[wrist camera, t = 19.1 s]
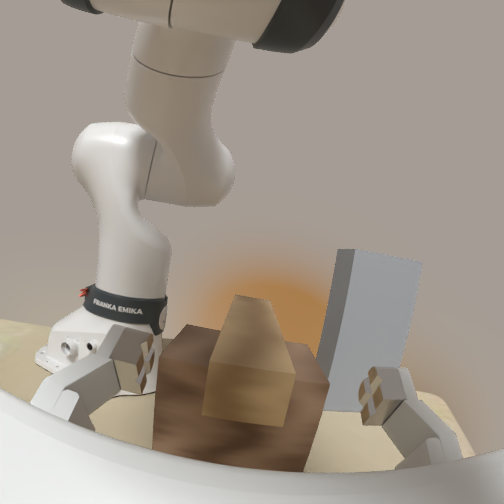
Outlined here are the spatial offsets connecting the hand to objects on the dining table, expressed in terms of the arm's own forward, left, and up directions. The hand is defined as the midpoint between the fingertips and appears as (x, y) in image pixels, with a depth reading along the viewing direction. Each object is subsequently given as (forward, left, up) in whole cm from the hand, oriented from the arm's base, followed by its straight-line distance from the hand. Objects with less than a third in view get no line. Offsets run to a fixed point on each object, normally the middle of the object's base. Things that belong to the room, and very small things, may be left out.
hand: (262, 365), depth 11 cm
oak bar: (0, +14, -4) cm, 15 cm away
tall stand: (+20, +39, -19) cm, 48 cm away
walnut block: (0, +14, -19) cm, 24 cm away
